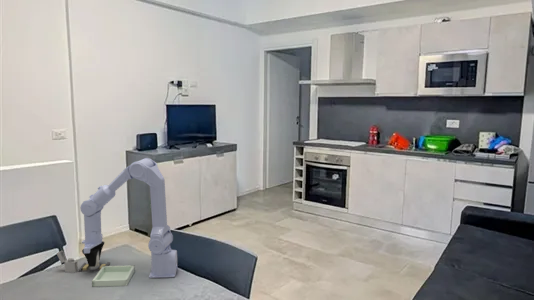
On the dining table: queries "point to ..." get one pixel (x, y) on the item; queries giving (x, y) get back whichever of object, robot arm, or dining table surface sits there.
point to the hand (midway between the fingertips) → (94, 263)
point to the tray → (113, 276)
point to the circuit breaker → (68, 263)
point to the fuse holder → (86, 269)
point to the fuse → (96, 263)
